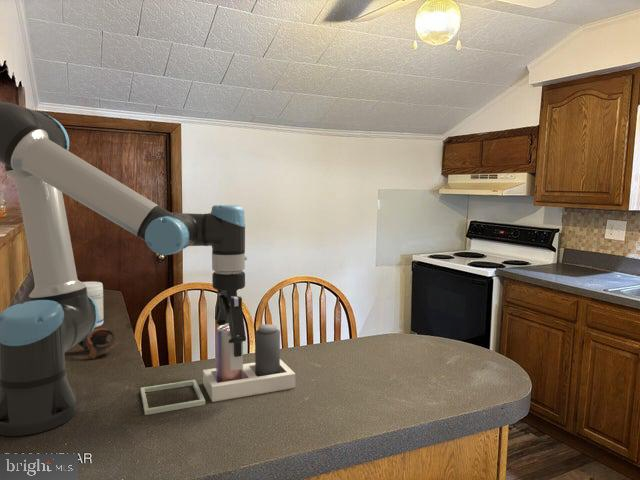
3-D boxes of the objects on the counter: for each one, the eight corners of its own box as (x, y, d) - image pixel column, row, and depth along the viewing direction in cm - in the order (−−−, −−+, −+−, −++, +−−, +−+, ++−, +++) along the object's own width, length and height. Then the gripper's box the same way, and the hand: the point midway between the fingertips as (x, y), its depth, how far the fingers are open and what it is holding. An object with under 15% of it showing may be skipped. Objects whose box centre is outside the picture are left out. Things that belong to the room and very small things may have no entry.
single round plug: (259, 389, 113) (259, 331, 112) (252, 380, 118) (252, 324, 117) (283, 385, 116) (283, 328, 114) (275, 376, 121) (275, 322, 120)
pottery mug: (122, 348, 143) (123, 329, 138) (108, 372, 135) (109, 352, 130) (82, 338, 141) (82, 319, 137) (65, 362, 133) (65, 342, 129)
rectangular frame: (144, 415, 99) (144, 410, 99) (140, 391, 111) (140, 387, 111) (205, 404, 105) (205, 400, 104) (195, 383, 116) (195, 379, 116)
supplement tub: (66, 327, 161) (65, 285, 160) (89, 320, 170) (87, 280, 169) (88, 330, 158) (87, 287, 157) (110, 323, 167) (108, 282, 165)
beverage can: (211, 390, 112) (210, 328, 110) (227, 381, 117) (227, 322, 116) (231, 396, 109) (231, 332, 108) (246, 386, 114) (246, 326, 113)
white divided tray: (212, 401, 106) (212, 386, 106) (203, 383, 116) (202, 369, 116) (295, 387, 114) (295, 373, 114) (280, 371, 124) (280, 358, 124)
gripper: (260, 279, 100) (260, 375, 103) (231, 262, 123) (232, 342, 125) (225, 281, 97) (225, 381, 100) (202, 264, 120) (203, 345, 122)
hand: (229, 359), depth 112 cm, fingers open, 13 cm apart
